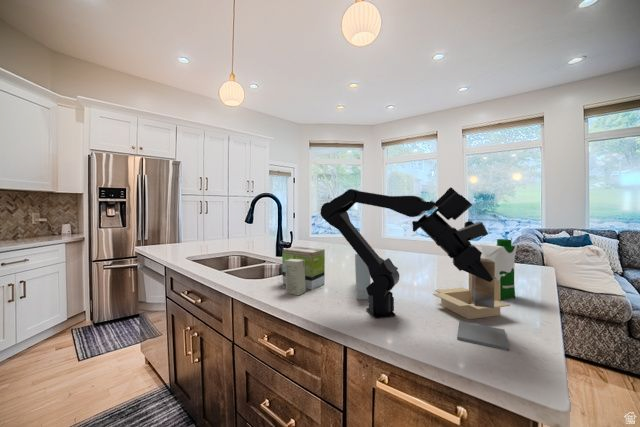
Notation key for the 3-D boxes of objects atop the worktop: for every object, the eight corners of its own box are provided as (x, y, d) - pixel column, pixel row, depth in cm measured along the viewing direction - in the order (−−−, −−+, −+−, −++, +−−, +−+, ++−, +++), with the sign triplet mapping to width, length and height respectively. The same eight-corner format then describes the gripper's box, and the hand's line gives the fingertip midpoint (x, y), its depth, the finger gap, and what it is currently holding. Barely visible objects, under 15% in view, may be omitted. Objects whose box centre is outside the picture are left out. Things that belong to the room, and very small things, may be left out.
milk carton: (501, 301, 87) (501, 241, 87) (477, 293, 96) (477, 238, 96) (520, 298, 90) (520, 239, 90) (494, 290, 99) (495, 237, 98)
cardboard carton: (468, 325, 70) (468, 287, 70) (426, 303, 86) (426, 272, 86) (510, 319, 73) (510, 283, 73) (462, 299, 90) (462, 269, 90)
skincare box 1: (306, 292, 98) (305, 259, 98) (299, 295, 94) (298, 261, 94) (292, 289, 101) (292, 258, 101) (285, 292, 98) (284, 260, 98)
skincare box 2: (355, 282, 111) (355, 244, 111) (368, 282, 110) (368, 245, 110) (355, 299, 90) (354, 253, 90) (371, 300, 90) (371, 253, 89)
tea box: (281, 284, 109) (281, 248, 108) (296, 279, 117) (296, 245, 117) (312, 290, 101) (311, 251, 100) (325, 284, 109) (325, 248, 109)
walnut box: (475, 305, 65) (475, 261, 65) (471, 299, 70) (472, 257, 69) (494, 308, 63) (494, 262, 63) (489, 301, 68) (490, 258, 68)
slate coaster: (457, 339, 62) (457, 336, 62) (459, 323, 71) (459, 321, 71) (509, 350, 57) (509, 347, 57) (504, 331, 66) (504, 329, 66)
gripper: (471, 211, 59) (531, 264, 55) (461, 210, 76) (506, 251, 72) (432, 244, 62) (486, 297, 58) (431, 236, 79) (473, 276, 75)
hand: (489, 278), depth 66 cm, fingers closed on walnut box, 5 cm apart
